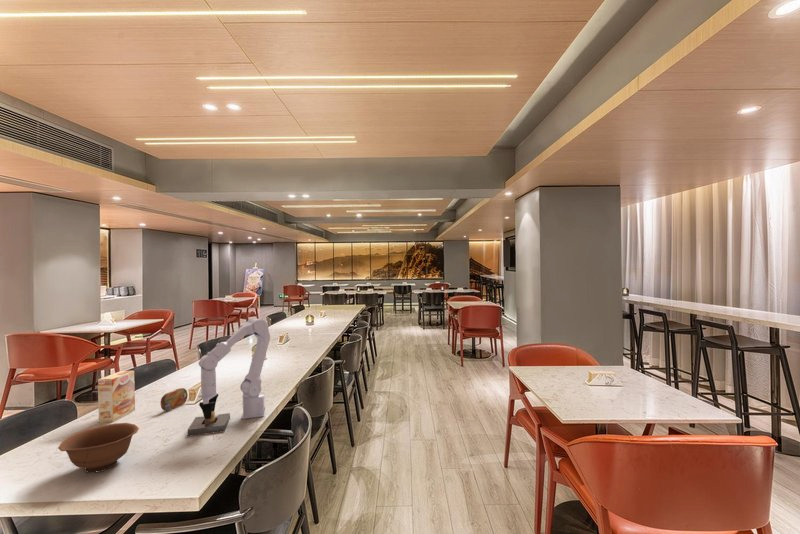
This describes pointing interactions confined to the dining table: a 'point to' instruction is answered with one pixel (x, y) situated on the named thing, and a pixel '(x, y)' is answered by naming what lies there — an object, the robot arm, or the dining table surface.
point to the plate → (209, 425)
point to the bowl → (99, 446)
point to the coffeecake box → (116, 396)
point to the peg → (212, 419)
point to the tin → (174, 399)
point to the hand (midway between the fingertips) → (209, 415)
